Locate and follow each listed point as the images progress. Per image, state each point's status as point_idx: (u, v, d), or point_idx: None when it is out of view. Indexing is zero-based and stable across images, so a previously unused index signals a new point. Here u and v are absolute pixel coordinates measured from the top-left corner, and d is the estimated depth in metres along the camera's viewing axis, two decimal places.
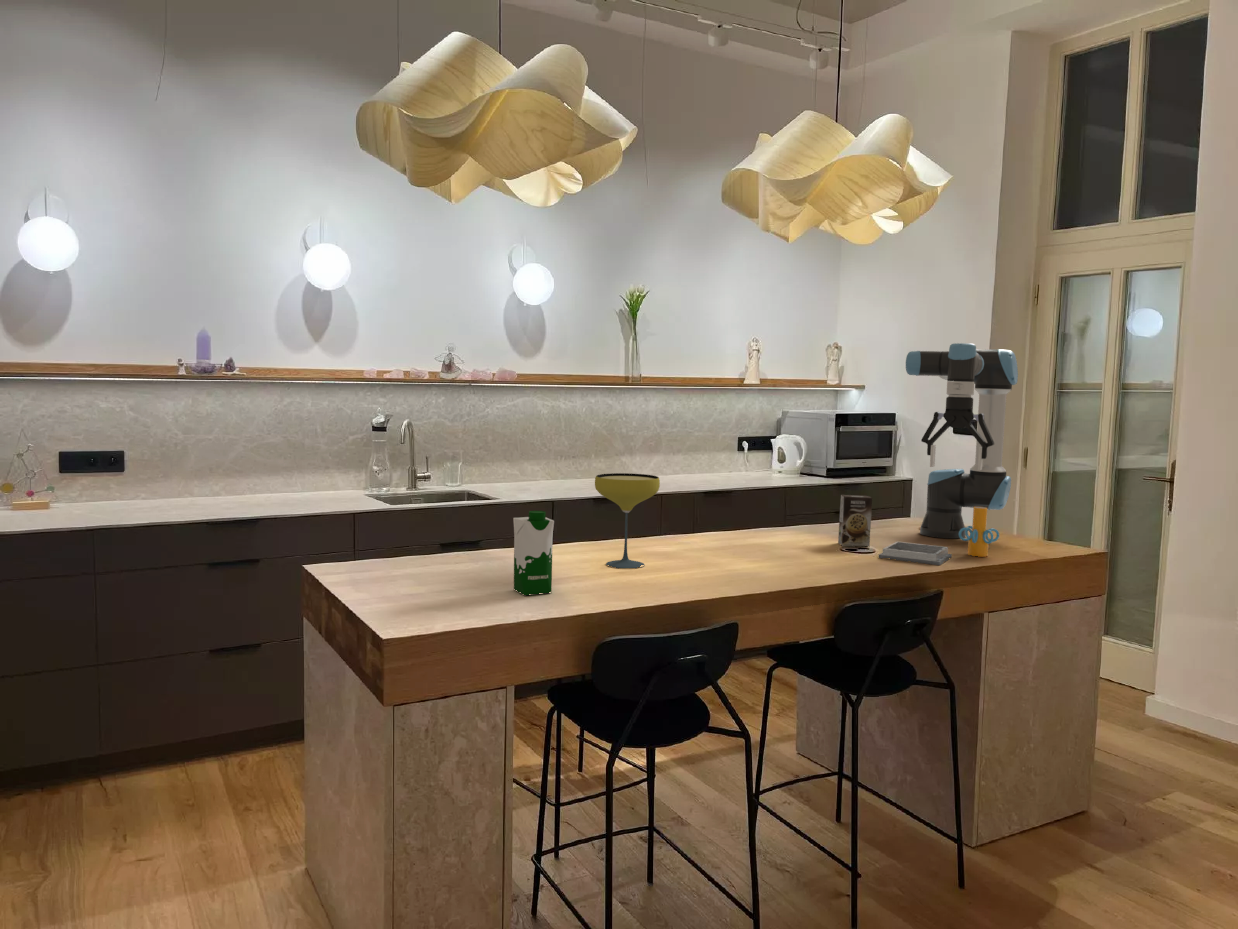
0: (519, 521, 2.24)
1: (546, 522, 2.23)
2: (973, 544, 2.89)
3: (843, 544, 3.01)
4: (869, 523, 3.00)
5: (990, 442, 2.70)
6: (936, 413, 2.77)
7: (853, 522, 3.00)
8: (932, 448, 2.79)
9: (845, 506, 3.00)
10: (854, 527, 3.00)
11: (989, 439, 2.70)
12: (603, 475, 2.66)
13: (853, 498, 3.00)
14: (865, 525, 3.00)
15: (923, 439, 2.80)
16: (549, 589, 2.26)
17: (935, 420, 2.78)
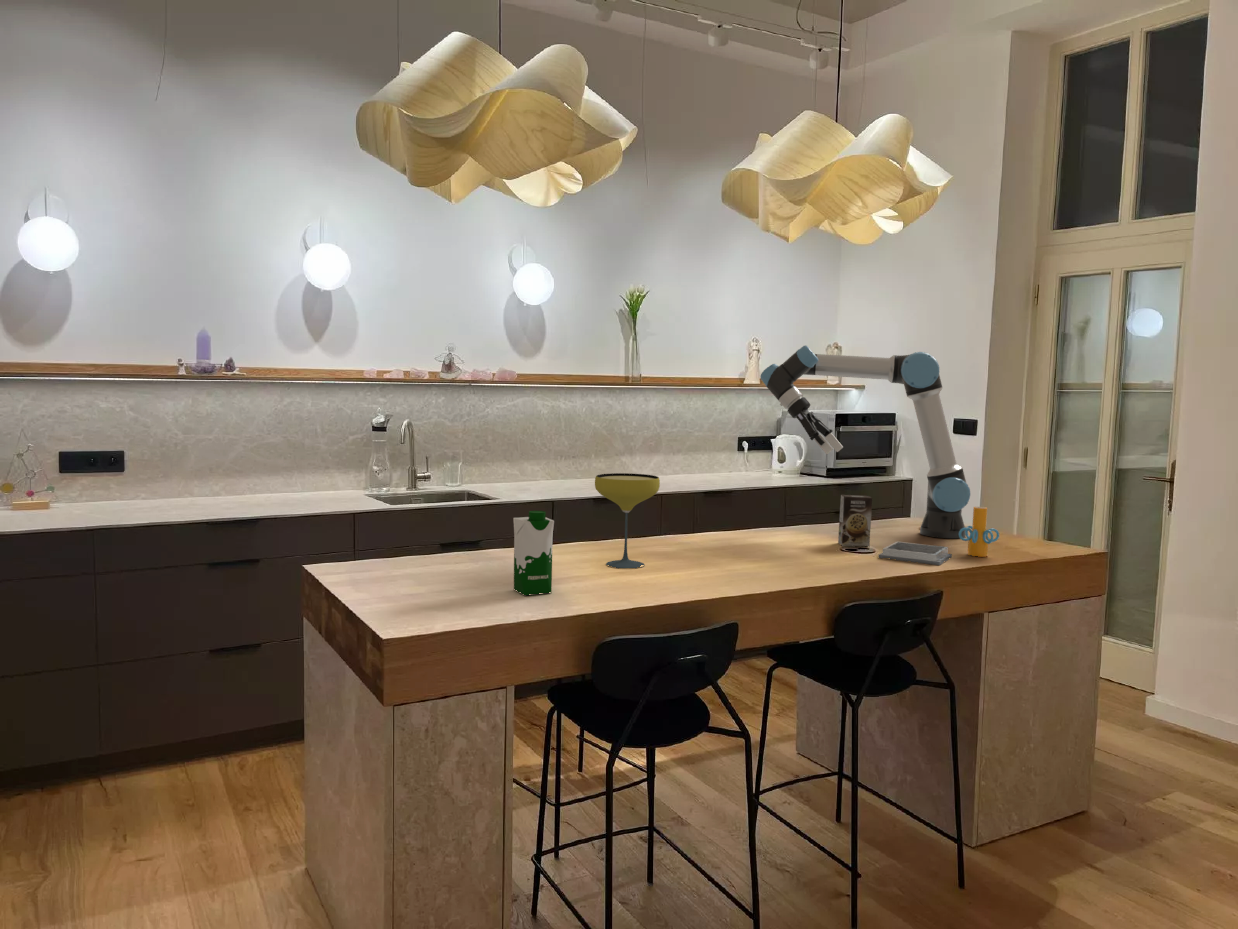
0: (519, 521, 2.24)
1: (546, 522, 2.23)
2: (973, 544, 2.89)
3: (843, 544, 3.01)
4: (869, 523, 3.00)
5: None
6: None
7: (853, 522, 3.00)
8: (826, 439, 3.23)
9: (845, 506, 3.00)
10: (854, 527, 3.00)
11: None
12: (603, 475, 2.66)
13: (853, 498, 3.00)
14: (865, 525, 3.00)
15: None
16: (549, 589, 2.26)
17: None
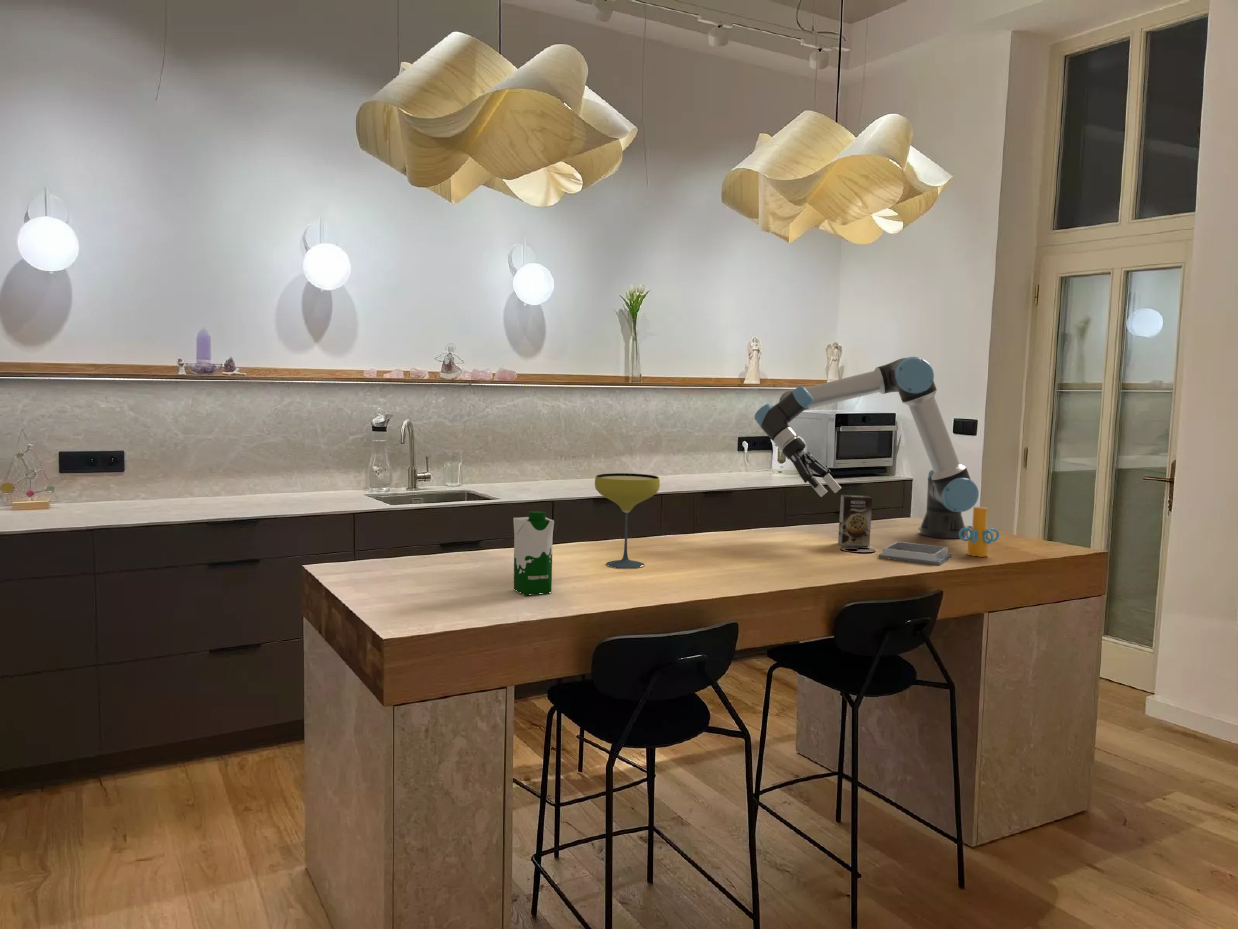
0: (519, 521, 2.24)
1: (546, 522, 2.23)
2: (973, 544, 2.89)
3: (843, 544, 3.01)
4: (869, 523, 3.00)
5: None
6: None
7: (853, 522, 3.00)
8: (824, 480, 3.14)
9: (845, 506, 3.00)
10: (854, 527, 3.00)
11: None
12: (603, 475, 2.66)
13: (853, 498, 3.00)
14: (865, 525, 3.00)
15: None
16: (549, 589, 2.26)
17: None
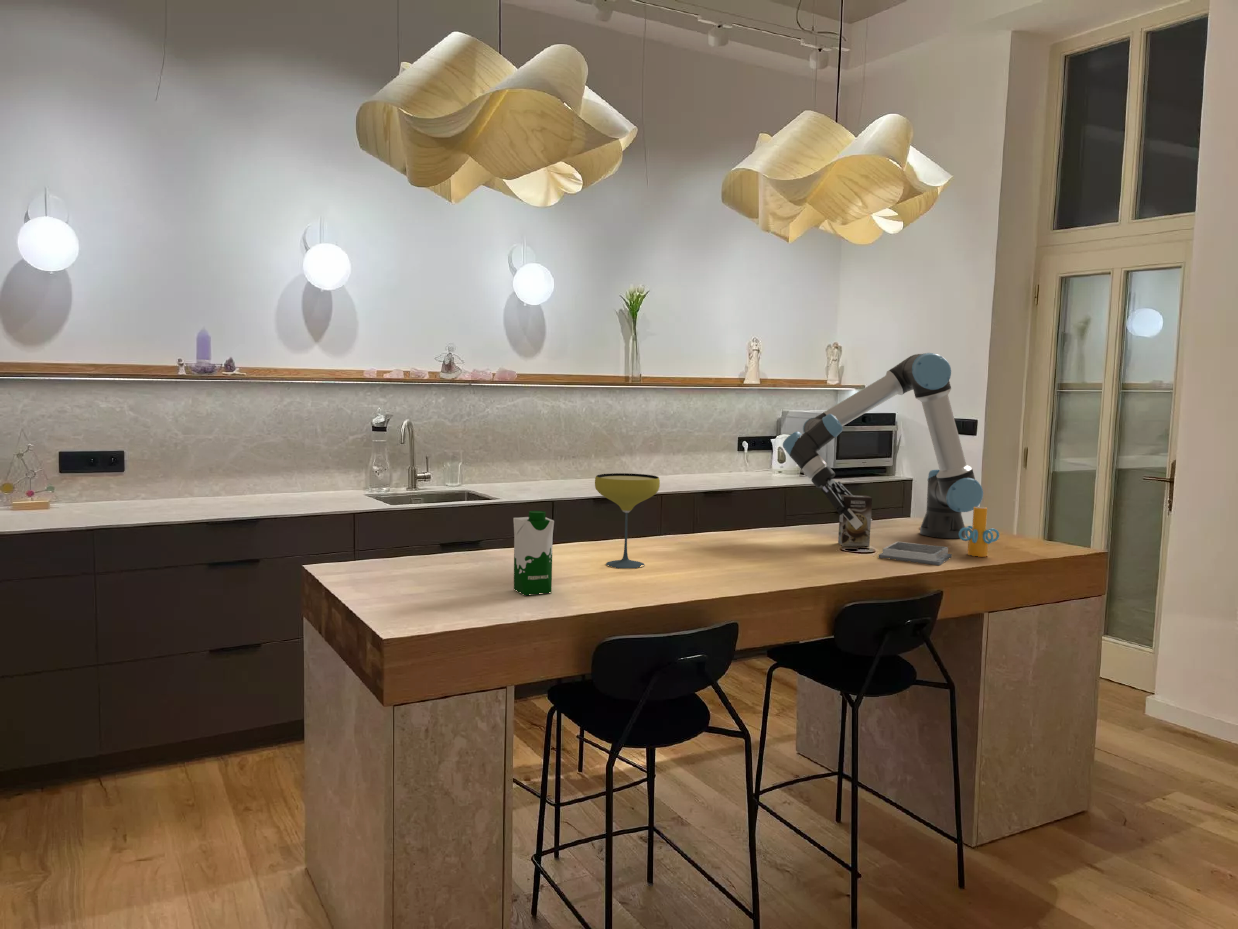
0: (519, 521, 2.24)
1: (546, 522, 2.23)
2: (973, 544, 2.89)
3: (843, 544, 3.01)
4: (869, 523, 3.00)
5: None
6: None
7: None
8: None
9: None
10: None
11: None
12: (603, 475, 2.66)
13: (853, 498, 3.00)
14: (865, 525, 3.00)
15: None
16: (549, 589, 2.26)
17: None
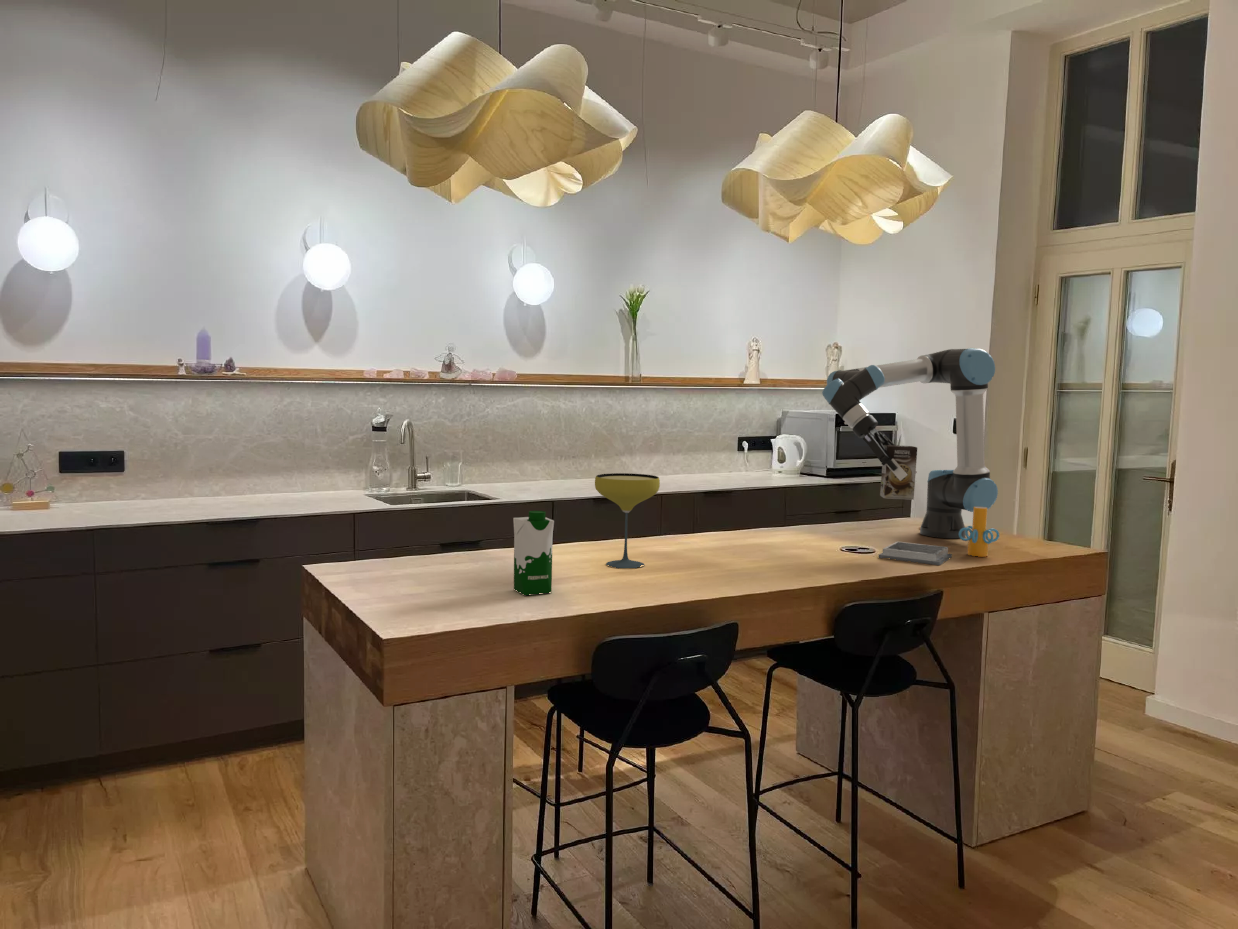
0: (519, 521, 2.24)
1: (546, 522, 2.23)
2: (973, 544, 2.89)
3: (886, 496, 2.85)
4: (914, 474, 2.83)
5: None
6: None
7: None
8: None
9: None
10: (897, 479, 2.84)
11: None
12: (603, 475, 2.66)
13: (897, 447, 2.83)
14: (910, 477, 2.83)
15: None
16: (549, 589, 2.26)
17: None
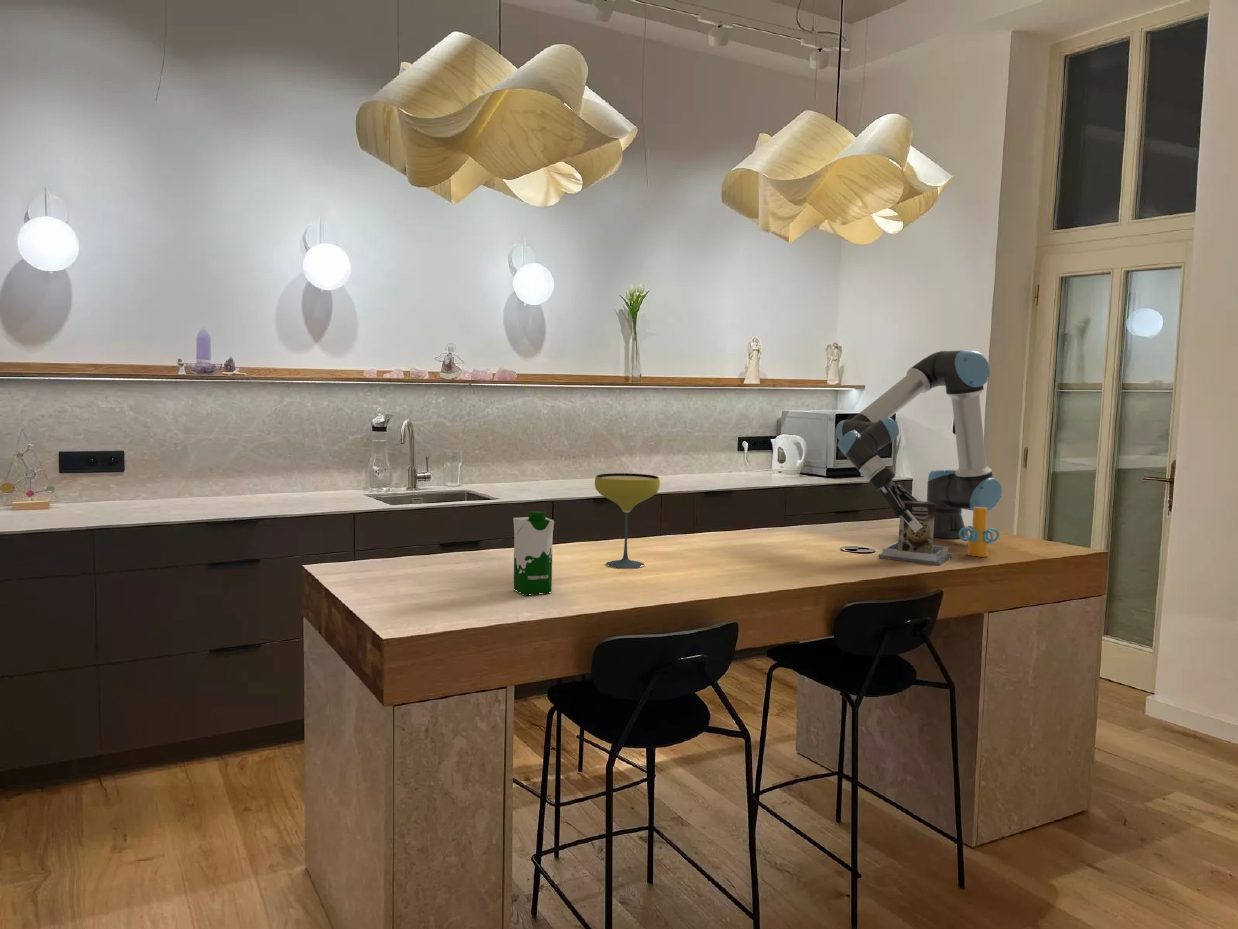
0: (519, 521, 2.24)
1: (546, 522, 2.23)
2: (973, 544, 2.89)
3: None
4: (932, 531, 2.80)
5: None
6: None
7: None
8: None
9: None
10: (915, 536, 2.81)
11: None
12: (603, 475, 2.66)
13: (915, 504, 2.80)
14: (928, 533, 2.80)
15: None
16: (549, 589, 2.26)
17: None
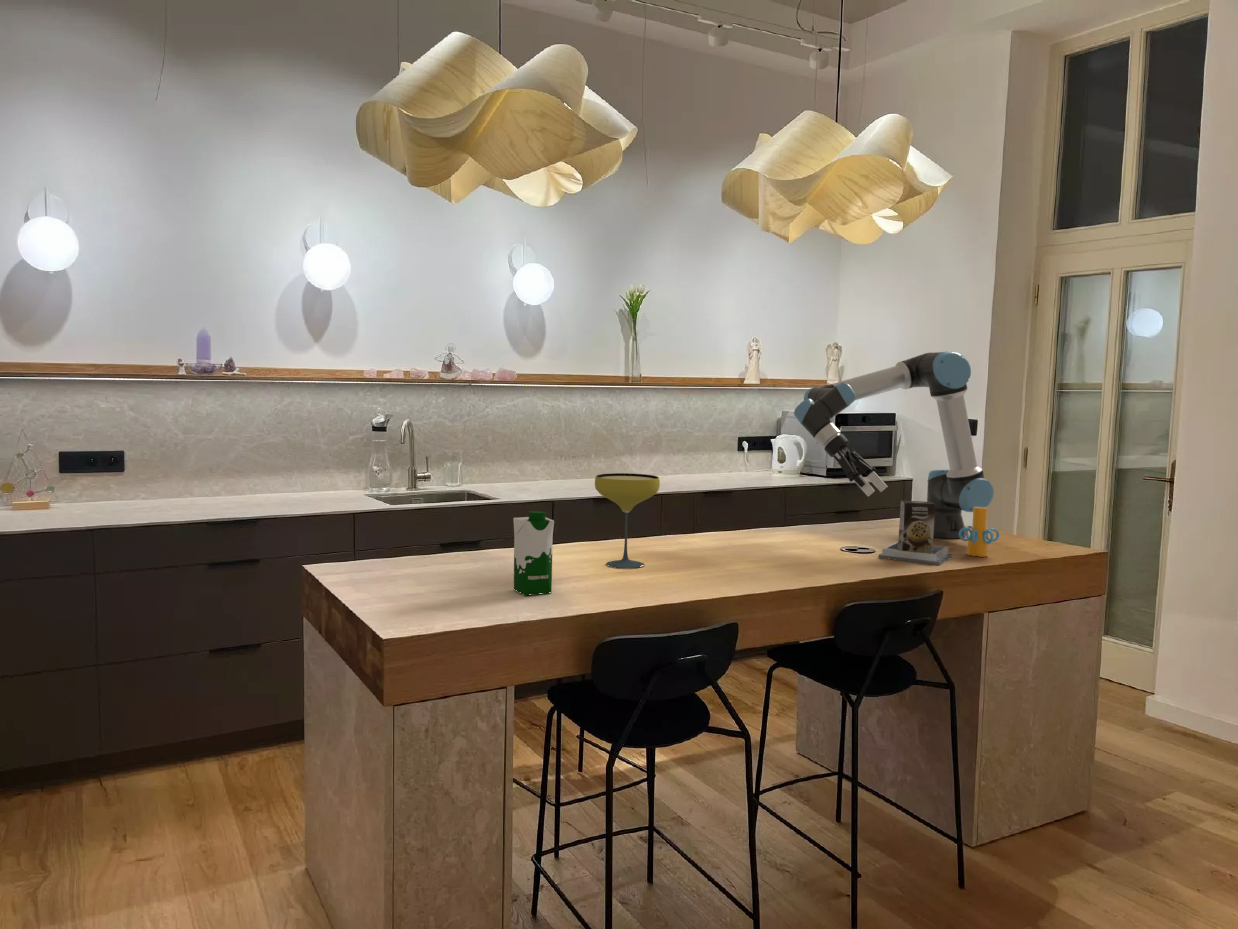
0: (519, 521, 2.24)
1: (546, 522, 2.23)
2: (973, 544, 2.89)
3: None
4: (932, 531, 2.80)
5: None
6: None
7: (915, 530, 2.81)
8: (869, 478, 2.97)
9: (906, 513, 2.80)
10: (915, 536, 2.81)
11: None
12: (603, 475, 2.66)
13: (915, 504, 2.80)
14: (928, 533, 2.80)
15: None
16: (549, 589, 2.26)
17: None
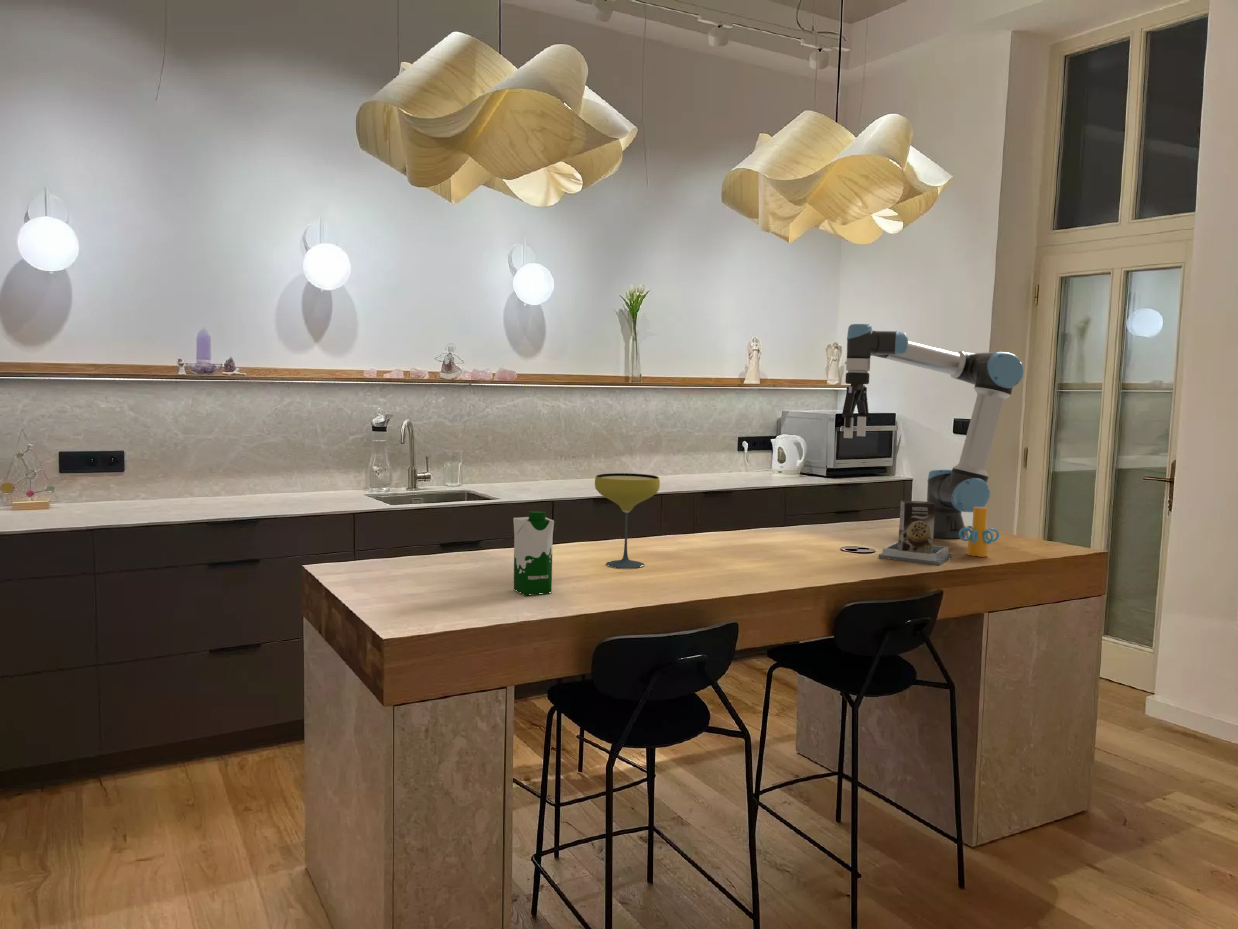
0: (519, 521, 2.24)
1: (546, 522, 2.23)
2: (973, 544, 2.89)
3: None
4: (932, 531, 2.80)
5: None
6: None
7: (915, 530, 2.81)
8: None
9: (906, 513, 2.80)
10: (915, 536, 2.81)
11: None
12: (603, 475, 2.66)
13: (915, 504, 2.80)
14: (928, 533, 2.80)
15: None
16: (549, 589, 2.26)
17: None
